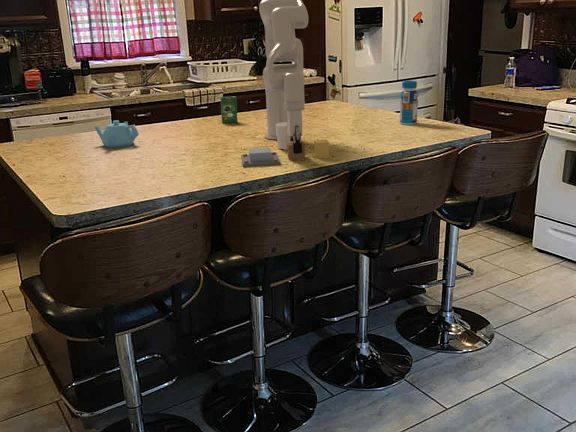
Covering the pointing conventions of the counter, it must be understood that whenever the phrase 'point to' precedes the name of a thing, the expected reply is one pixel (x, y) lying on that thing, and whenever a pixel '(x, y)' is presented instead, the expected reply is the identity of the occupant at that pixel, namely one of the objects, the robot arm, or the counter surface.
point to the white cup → (282, 135)
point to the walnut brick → (295, 156)
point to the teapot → (117, 134)
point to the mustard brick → (321, 148)
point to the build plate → (260, 163)
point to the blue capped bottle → (408, 103)
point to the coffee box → (229, 109)
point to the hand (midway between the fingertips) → (296, 150)
